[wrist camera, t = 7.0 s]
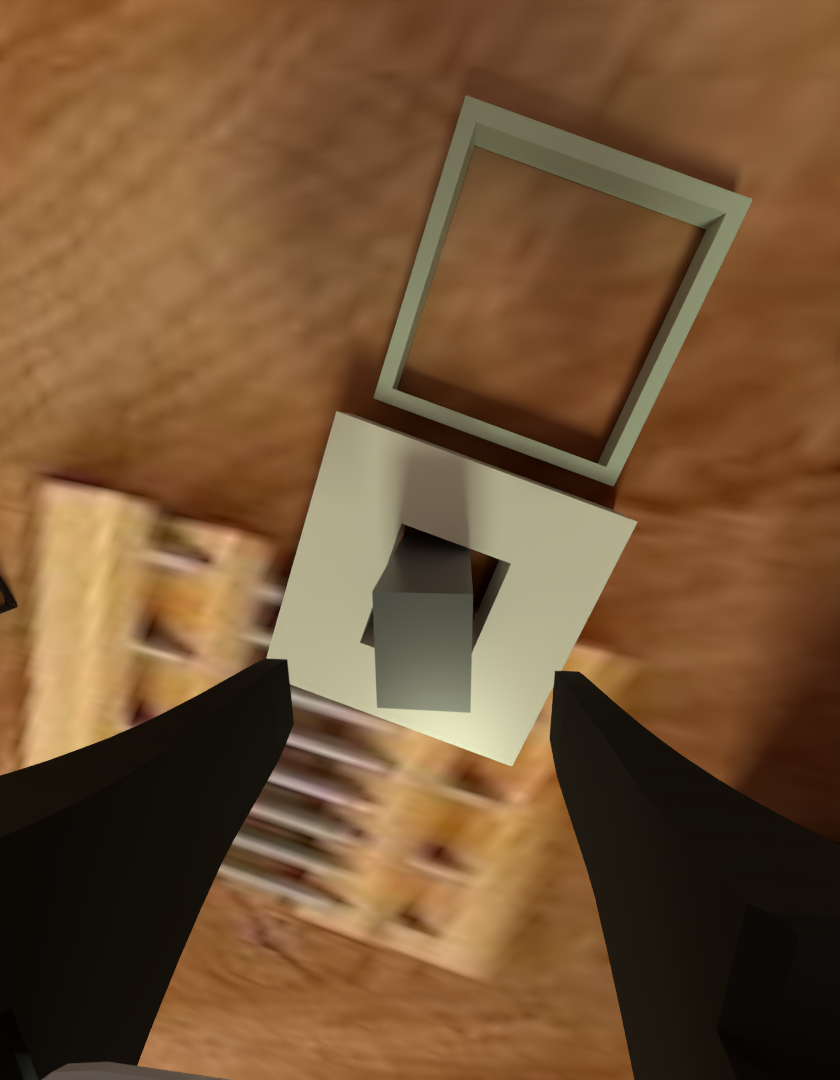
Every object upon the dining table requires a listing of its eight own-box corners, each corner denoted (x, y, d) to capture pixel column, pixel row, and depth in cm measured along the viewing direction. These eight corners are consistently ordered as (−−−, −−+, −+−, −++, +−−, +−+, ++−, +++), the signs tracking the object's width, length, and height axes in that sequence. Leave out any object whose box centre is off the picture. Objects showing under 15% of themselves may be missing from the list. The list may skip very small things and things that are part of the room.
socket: (614, 510, 18) (637, 521, 16) (506, 728, 21) (511, 766, 19) (353, 413, 18) (336, 411, 16) (284, 646, 21) (262, 673, 19)
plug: (468, 536, 19) (473, 594, 12) (467, 618, 20) (470, 712, 13) (403, 536, 19) (372, 591, 13) (405, 616, 20) (376, 707, 14)
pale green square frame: (730, 217, 15) (752, 199, 14) (604, 483, 18) (613, 486, 17) (465, 120, 15) (465, 95, 14) (378, 400, 18) (373, 398, 17)
